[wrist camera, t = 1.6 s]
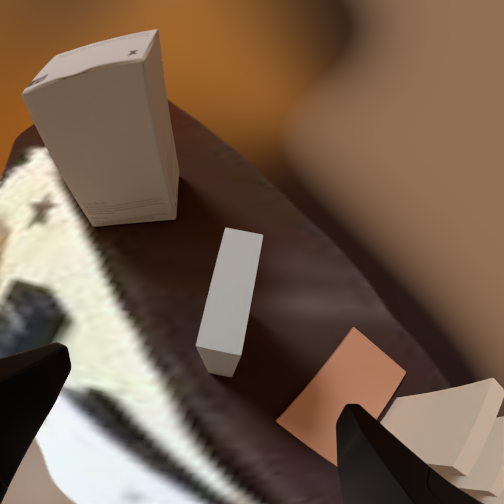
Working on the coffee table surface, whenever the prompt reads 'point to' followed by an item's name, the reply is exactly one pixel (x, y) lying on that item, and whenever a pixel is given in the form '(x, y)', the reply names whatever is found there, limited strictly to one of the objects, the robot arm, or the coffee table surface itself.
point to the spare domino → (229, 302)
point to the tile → (341, 392)
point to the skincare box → (110, 128)
